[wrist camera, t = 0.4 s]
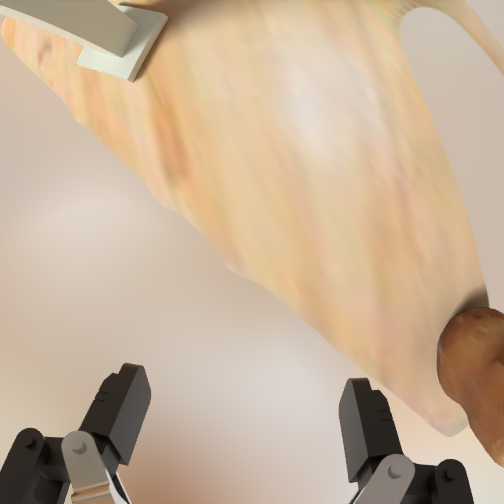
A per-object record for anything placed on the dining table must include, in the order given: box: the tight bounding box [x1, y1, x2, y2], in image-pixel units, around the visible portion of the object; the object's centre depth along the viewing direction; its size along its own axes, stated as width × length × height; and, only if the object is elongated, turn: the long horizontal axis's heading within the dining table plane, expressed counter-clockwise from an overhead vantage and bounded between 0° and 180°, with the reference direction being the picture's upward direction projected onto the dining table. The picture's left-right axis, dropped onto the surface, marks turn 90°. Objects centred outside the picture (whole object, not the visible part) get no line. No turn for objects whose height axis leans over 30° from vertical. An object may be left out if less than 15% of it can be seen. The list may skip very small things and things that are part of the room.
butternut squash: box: [437, 307, 504, 467], centre depth 25 cm, size 14×13×25 cm
